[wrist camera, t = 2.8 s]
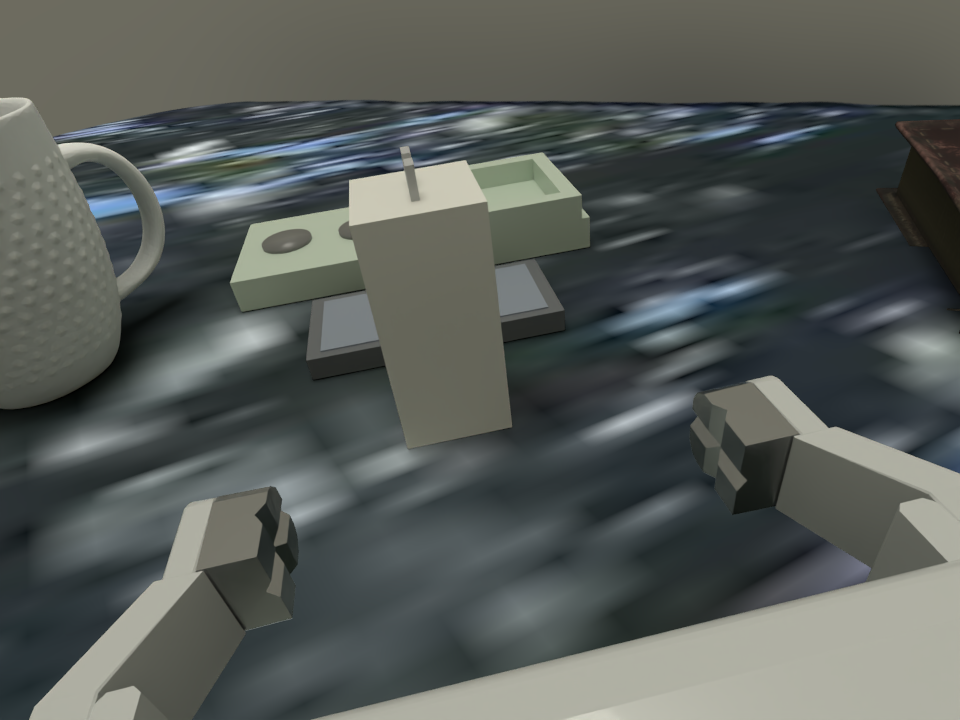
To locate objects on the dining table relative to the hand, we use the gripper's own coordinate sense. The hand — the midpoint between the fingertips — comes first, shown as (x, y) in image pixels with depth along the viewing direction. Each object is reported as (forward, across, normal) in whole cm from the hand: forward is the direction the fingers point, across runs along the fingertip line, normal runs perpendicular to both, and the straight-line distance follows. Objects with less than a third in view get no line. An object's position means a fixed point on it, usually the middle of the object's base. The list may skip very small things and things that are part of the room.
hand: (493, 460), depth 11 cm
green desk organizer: (+30, +1, +9) cm, 31 cm away
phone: (+20, 0, +9) cm, 21 cm away
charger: (+12, 0, +9) cm, 15 cm away
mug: (+23, +21, +9) cm, 32 cm away
